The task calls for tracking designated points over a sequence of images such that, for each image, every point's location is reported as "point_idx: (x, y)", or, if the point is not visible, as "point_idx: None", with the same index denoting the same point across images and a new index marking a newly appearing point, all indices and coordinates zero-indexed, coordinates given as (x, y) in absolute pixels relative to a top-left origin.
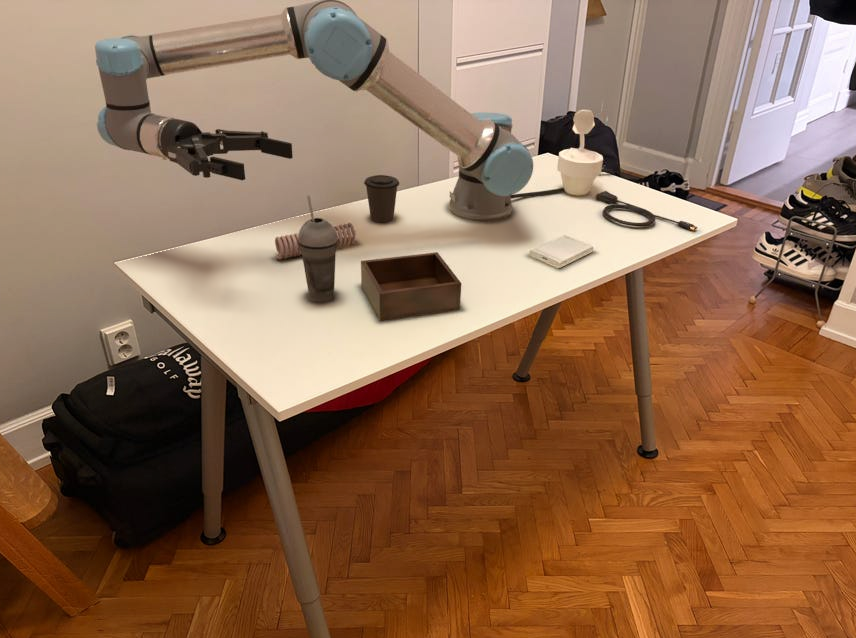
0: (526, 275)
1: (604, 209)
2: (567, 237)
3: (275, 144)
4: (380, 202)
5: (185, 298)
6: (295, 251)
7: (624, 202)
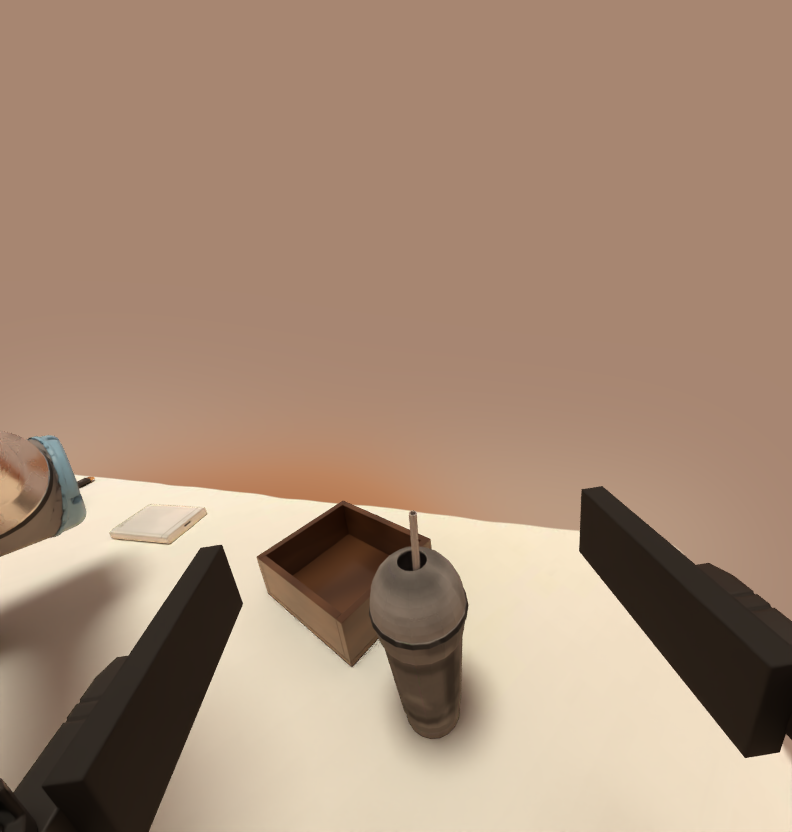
0: (232, 526)
1: None
2: (120, 525)
3: (185, 634)
4: None
5: None
6: None
7: None
